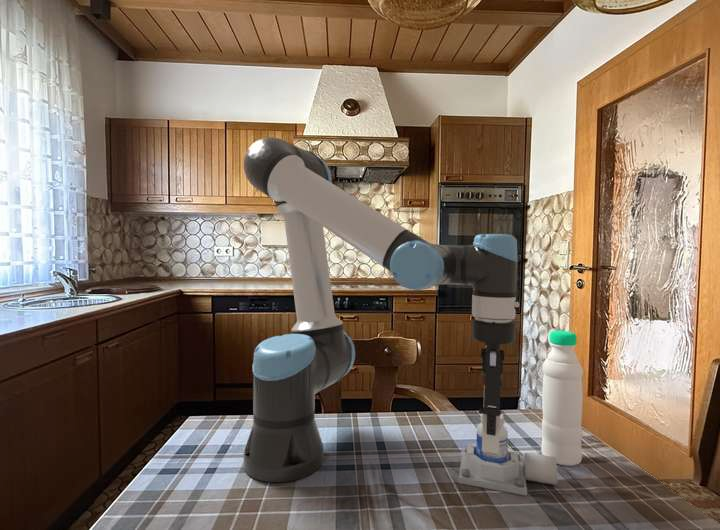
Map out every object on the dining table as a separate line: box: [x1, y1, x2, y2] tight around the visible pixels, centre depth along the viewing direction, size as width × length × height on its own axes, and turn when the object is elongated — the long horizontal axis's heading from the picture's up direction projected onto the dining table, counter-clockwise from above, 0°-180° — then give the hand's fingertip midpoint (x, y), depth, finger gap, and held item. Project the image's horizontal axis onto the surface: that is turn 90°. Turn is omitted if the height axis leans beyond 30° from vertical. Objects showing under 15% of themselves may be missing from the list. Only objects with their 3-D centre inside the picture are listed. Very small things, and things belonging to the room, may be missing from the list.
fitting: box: [458, 442, 558, 497], centre depth 70 cm, size 16×11×4 cm
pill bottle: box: [476, 413, 509, 464], centre depth 70 cm, size 6×5×10 cm
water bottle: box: [540, 330, 584, 467], centre depth 76 cm, size 7×7×25 cm
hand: (490, 434), depth 71 cm, fingers open, 13 cm apart
